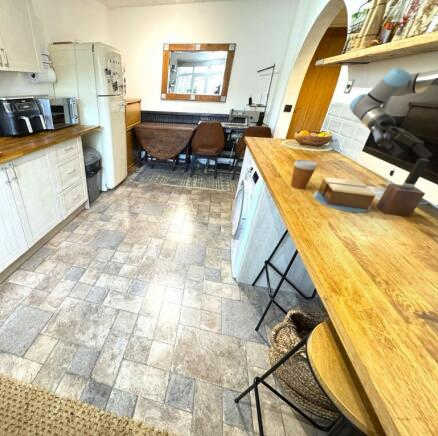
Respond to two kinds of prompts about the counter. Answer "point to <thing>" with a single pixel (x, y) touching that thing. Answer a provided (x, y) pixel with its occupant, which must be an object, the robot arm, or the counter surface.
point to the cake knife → (415, 173)
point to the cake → (345, 195)
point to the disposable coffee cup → (302, 173)
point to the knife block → (399, 200)
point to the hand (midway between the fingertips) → (414, 156)
